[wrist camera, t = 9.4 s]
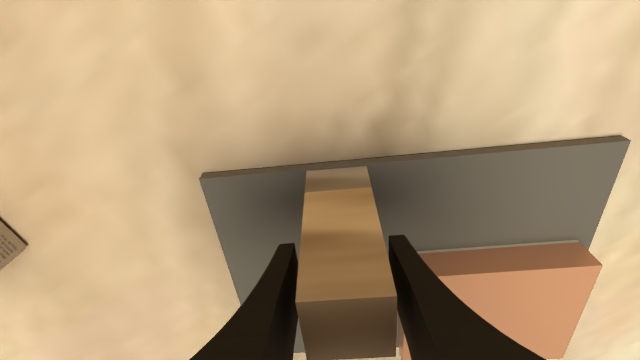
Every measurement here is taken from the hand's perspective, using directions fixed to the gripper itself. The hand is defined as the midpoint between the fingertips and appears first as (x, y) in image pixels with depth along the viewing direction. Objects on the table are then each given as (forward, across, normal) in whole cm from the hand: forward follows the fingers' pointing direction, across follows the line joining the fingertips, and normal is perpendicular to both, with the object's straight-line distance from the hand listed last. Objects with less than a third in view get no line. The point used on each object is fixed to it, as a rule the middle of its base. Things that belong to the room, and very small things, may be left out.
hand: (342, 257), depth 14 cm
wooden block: (+4, 0, 0) cm, 4 cm away
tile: (+3, -3, +8) cm, 9 cm away
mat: (+5, -4, +6) cm, 8 cm away
